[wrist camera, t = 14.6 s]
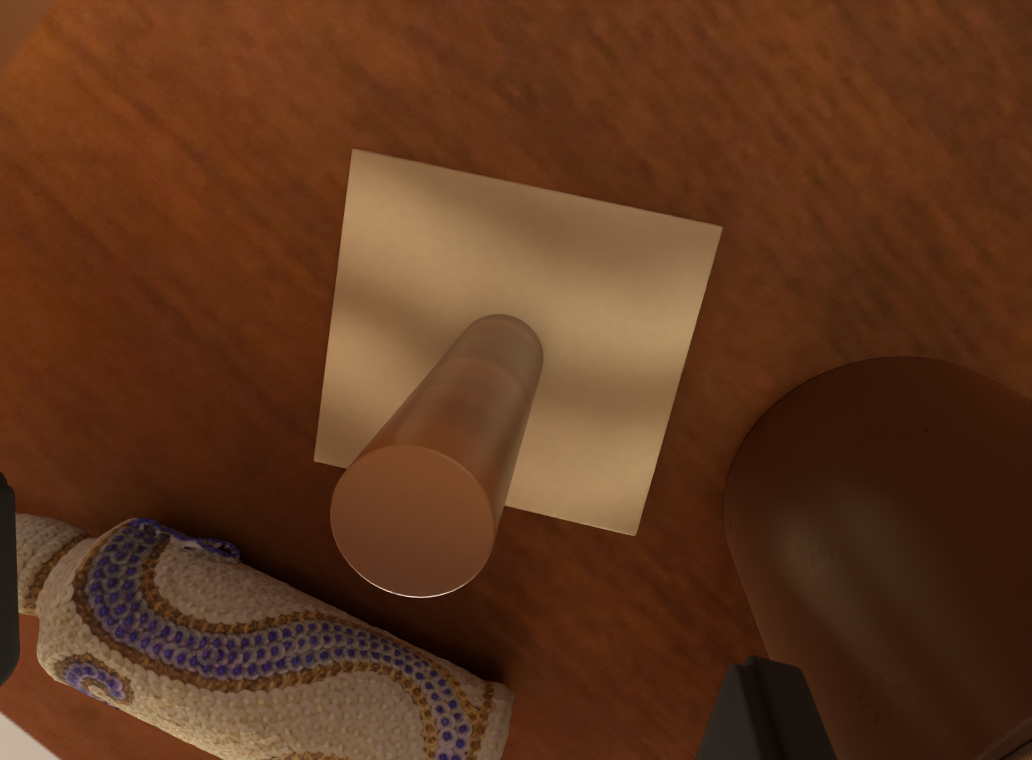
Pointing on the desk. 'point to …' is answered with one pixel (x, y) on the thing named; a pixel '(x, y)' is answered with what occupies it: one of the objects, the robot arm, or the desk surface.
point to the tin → (895, 556)
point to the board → (529, 297)
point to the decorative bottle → (240, 653)
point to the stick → (441, 466)
